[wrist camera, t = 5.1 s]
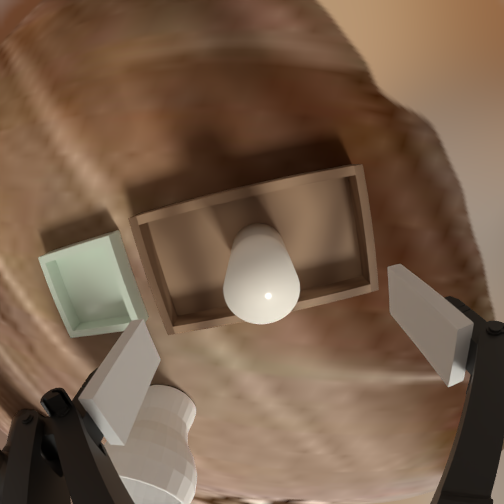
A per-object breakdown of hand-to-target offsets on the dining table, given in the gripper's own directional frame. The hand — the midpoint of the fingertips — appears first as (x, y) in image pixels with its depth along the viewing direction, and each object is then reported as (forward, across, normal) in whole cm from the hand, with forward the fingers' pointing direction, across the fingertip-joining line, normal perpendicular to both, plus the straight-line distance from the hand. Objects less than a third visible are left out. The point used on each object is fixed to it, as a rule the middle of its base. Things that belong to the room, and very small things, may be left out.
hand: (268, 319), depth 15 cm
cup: (+14, -16, -18) cm, 28 cm away
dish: (+14, -18, 0) cm, 23 cm away
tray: (+14, 0, 0) cm, 15 cm away
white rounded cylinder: (+14, 0, 0) cm, 14 cm away
